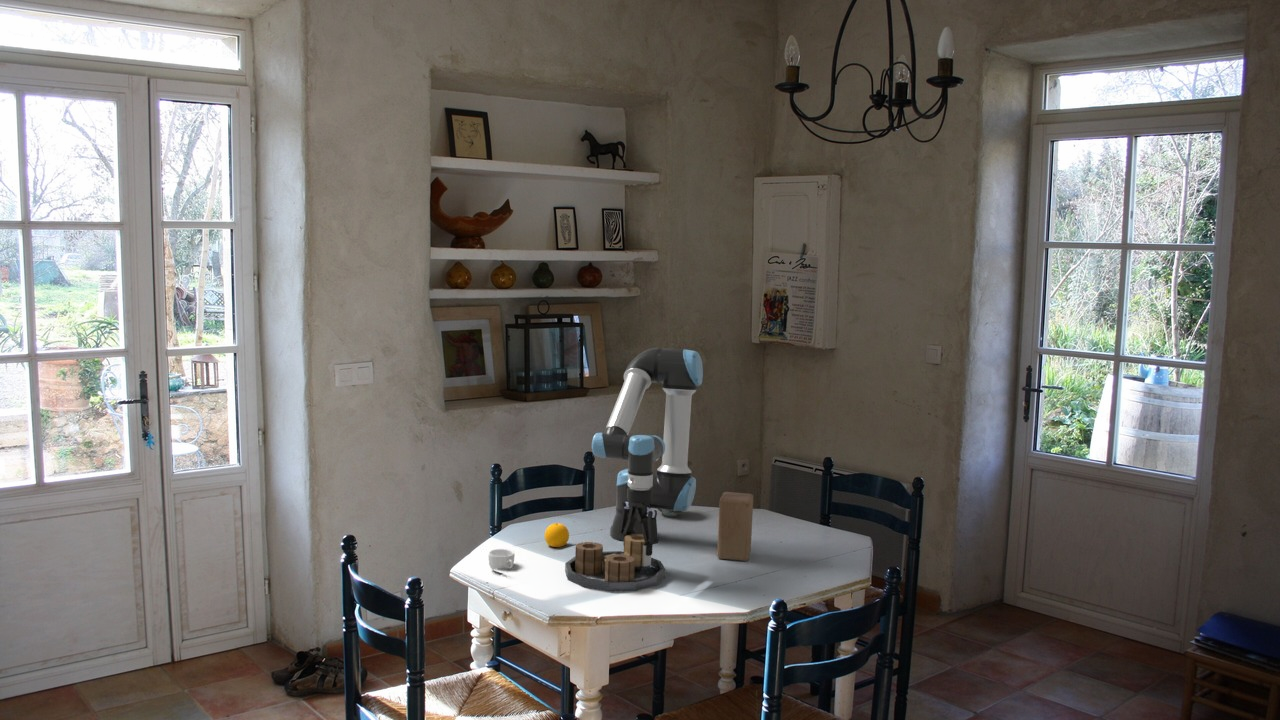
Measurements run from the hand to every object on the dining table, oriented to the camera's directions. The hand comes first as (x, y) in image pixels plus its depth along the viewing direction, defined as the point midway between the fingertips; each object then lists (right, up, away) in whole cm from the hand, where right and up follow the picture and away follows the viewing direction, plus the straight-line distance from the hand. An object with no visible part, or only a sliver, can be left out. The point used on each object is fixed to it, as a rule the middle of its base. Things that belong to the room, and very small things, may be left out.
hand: (637, 561), depth 296 cm
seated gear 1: (-15, -2, -2) cm, 15 cm away
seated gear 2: (-5, -4, -13) cm, 15 cm away
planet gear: (0, 0, 0) cm, 0 cm away
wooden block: (+31, -3, +22) cm, 38 cm away
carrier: (-7, -4, -5) cm, 9 cm away
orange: (-27, 0, +26) cm, 37 cm away
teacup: (-40, -3, -1) cm, 40 cm away
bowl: (+12, +3, +69) cm, 70 cm away
